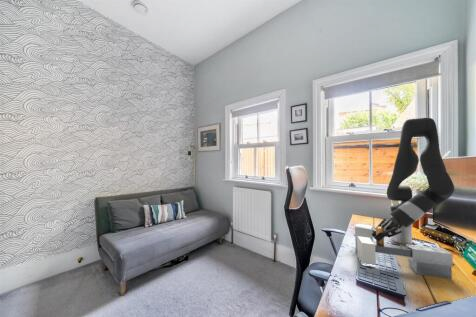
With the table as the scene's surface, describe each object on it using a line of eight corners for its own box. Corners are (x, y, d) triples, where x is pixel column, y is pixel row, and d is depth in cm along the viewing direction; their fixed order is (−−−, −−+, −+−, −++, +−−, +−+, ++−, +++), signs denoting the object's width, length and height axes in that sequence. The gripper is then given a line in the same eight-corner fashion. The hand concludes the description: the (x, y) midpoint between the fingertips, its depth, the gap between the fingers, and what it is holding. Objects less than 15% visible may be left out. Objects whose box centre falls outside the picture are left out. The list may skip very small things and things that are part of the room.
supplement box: (373, 249, 98) (373, 225, 98) (371, 254, 93) (371, 229, 93) (357, 245, 103) (357, 222, 103) (355, 249, 98) (354, 226, 98)
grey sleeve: (406, 265, 82) (405, 243, 82) (443, 271, 78) (442, 248, 78) (413, 273, 76) (413, 249, 77) (454, 280, 72) (453, 254, 72)
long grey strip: (365, 248, 86) (364, 225, 87) (418, 255, 80) (418, 230, 80) (367, 251, 84) (366, 227, 84) (422, 258, 77) (422, 232, 77)
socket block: (357, 257, 90) (357, 236, 90) (369, 259, 88) (369, 237, 88) (362, 265, 82) (362, 242, 82) (375, 268, 80) (375, 244, 81)
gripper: (392, 204, 88) (363, 226, 92) (407, 211, 75) (372, 237, 78) (406, 216, 86) (375, 238, 90) (424, 225, 73) (388, 251, 76)
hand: (374, 237), depth 84 cm, fingers closed on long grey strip, 3 cm apart
